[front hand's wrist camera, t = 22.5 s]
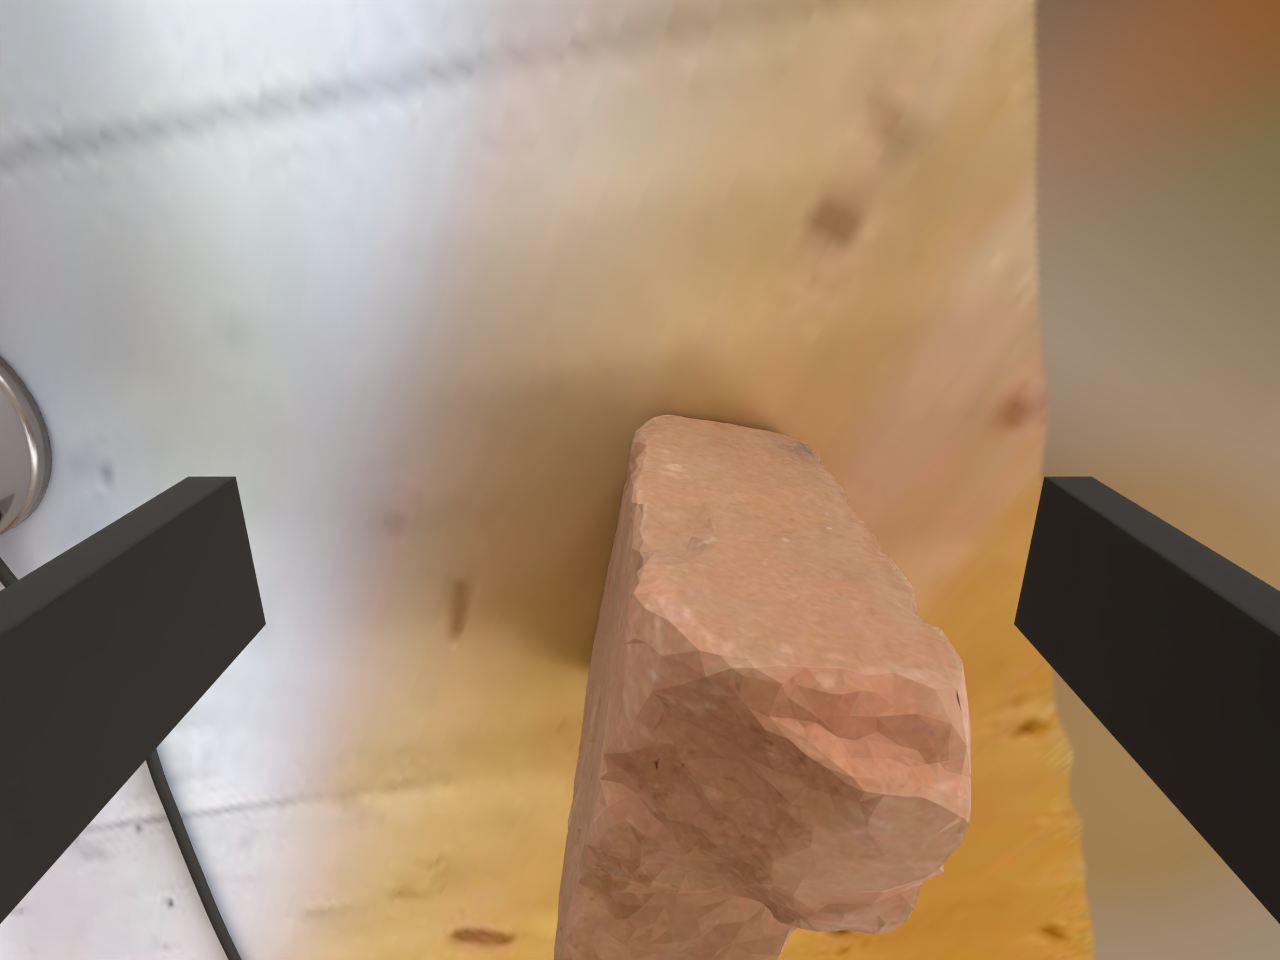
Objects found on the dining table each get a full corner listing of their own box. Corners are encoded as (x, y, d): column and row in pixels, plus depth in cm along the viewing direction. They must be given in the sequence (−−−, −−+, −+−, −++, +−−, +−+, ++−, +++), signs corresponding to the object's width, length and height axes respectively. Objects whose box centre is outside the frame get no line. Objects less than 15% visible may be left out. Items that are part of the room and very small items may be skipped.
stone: (734, 715, 54) (831, 1189, 27) (581, 692, 53) (525, 1154, 26) (808, 433, 47) (1034, 692, 20) (634, 402, 46) (633, 628, 20)
